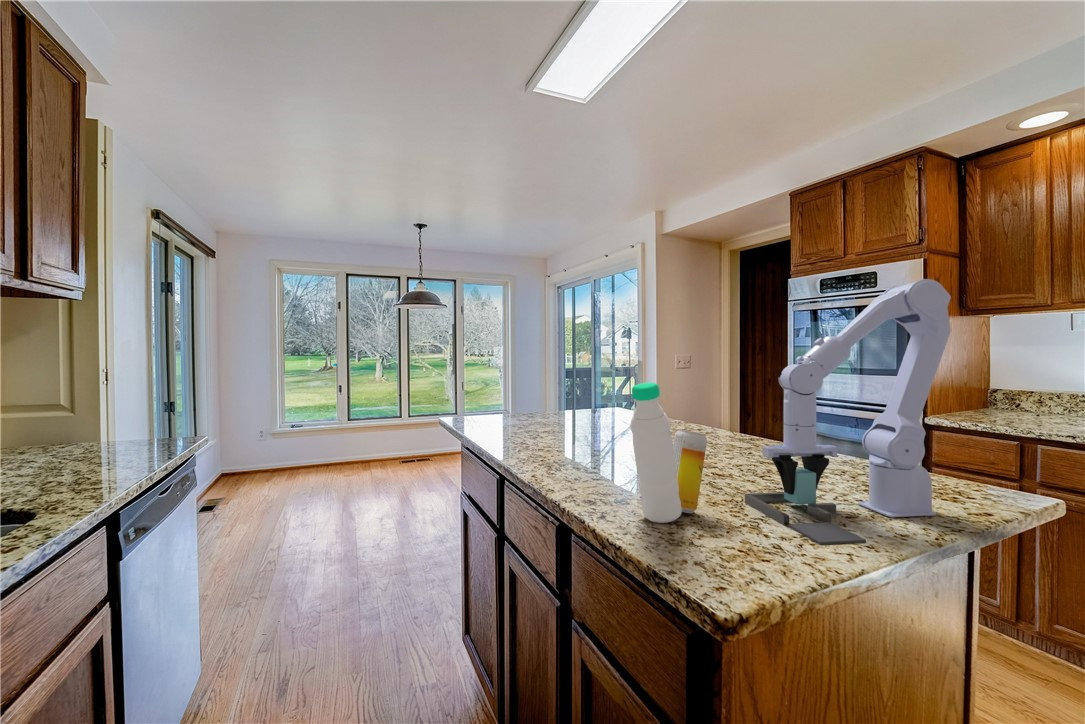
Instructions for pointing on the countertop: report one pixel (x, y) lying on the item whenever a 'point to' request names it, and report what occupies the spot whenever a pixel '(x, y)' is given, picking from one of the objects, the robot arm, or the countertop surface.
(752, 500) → the outer rail
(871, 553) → the countertop surface
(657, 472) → the water bottle
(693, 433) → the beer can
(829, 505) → the rail
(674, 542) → the countertop surface
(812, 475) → the teal block
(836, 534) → the rubber pad
